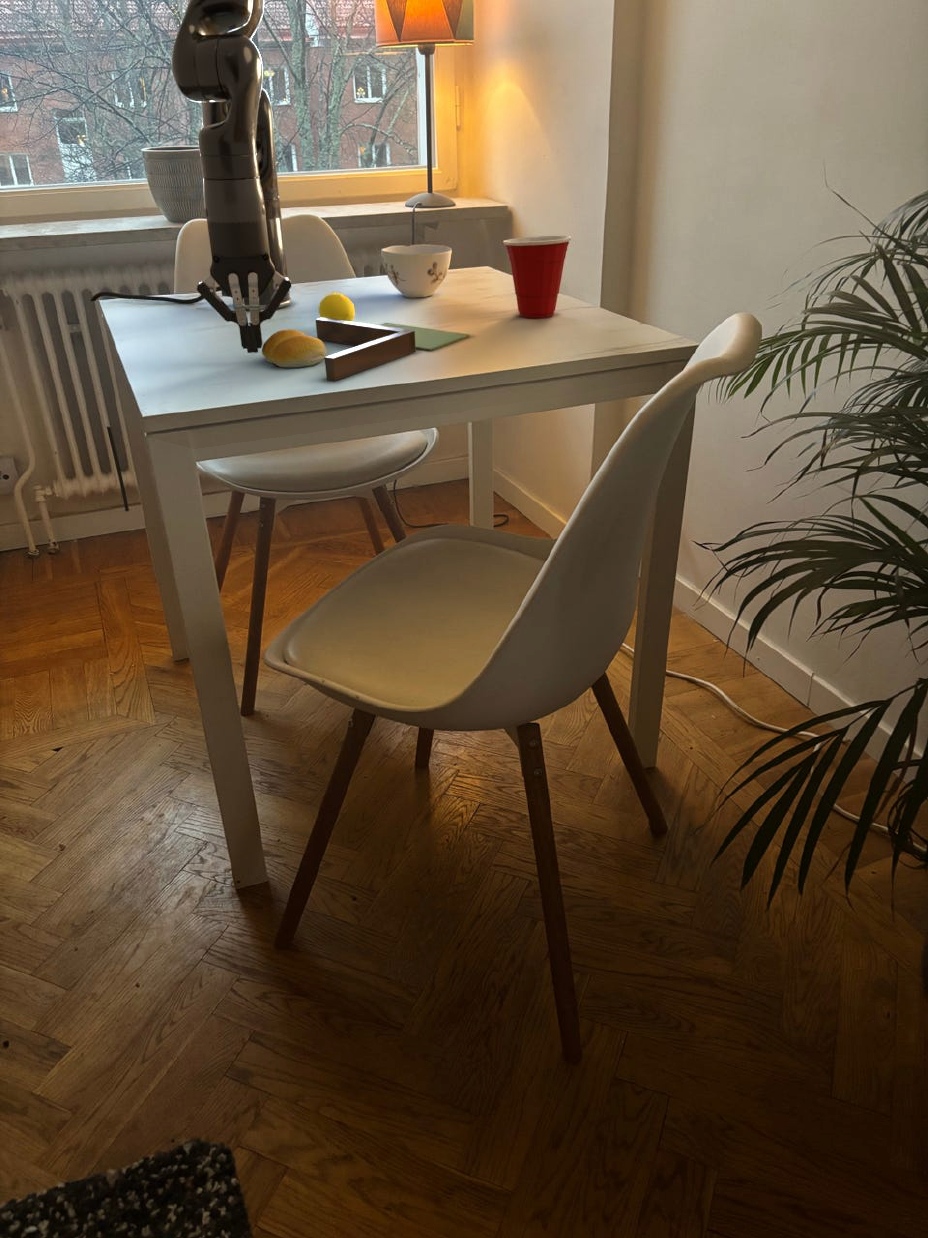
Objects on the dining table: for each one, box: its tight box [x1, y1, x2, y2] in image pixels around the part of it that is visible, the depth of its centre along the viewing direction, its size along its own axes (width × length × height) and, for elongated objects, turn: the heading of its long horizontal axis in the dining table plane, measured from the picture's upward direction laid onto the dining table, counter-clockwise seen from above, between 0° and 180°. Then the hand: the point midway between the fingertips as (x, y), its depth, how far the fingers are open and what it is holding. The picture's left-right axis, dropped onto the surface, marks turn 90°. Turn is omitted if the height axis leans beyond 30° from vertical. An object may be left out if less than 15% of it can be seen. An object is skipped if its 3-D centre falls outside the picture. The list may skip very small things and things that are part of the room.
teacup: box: [380, 243, 453, 299], centre depth 168 cm, size 15×12×8 cm
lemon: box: [318, 292, 356, 322], centre depth 146 cm, size 7×5×5 cm
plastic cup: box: [502, 235, 572, 319], centre depth 150 cm, size 11×11×12 cm
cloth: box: [378, 322, 470, 352], centre depth 141 cm, size 16×10×1 cm, turn 56°
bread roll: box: [261, 328, 327, 368], centre depth 130 cm, size 8×9×4 cm
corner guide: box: [315, 317, 417, 382], centre depth 131 cm, size 18×18×3 cm
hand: (252, 351), depth 129 cm, fingers closed
